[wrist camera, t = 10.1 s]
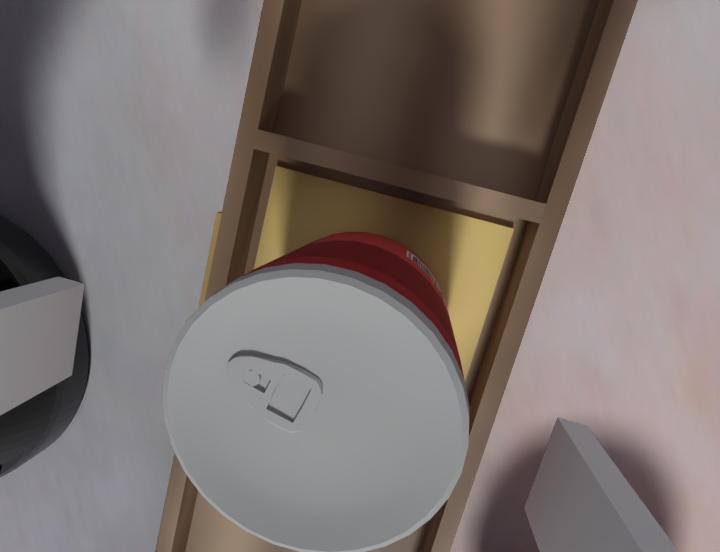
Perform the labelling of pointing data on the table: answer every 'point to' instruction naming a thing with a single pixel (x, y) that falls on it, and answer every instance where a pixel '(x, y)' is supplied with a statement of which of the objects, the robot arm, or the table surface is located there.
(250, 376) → the canned food
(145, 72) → the table surface
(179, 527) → the caddy
